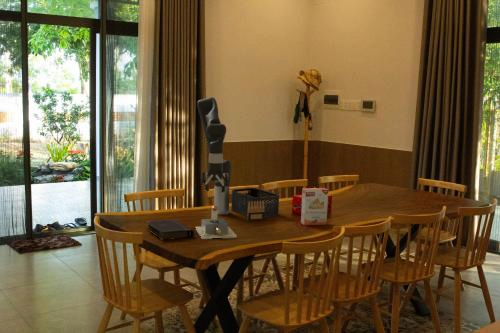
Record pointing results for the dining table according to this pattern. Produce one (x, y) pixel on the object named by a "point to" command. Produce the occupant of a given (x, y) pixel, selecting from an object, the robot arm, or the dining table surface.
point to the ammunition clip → (256, 211)
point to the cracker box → (314, 206)
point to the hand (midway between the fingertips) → (215, 191)
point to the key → (214, 213)
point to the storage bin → (255, 196)
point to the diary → (169, 229)
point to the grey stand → (215, 229)
